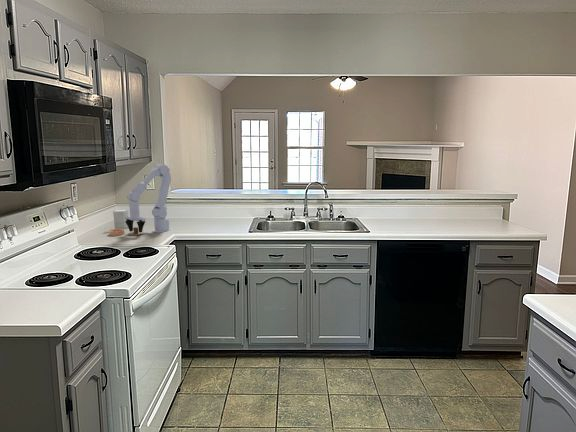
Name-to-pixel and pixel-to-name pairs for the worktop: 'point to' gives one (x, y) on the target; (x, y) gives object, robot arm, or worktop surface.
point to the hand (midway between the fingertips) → (135, 231)
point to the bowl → (116, 232)
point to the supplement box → (120, 219)
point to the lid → (135, 232)
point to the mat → (140, 235)
